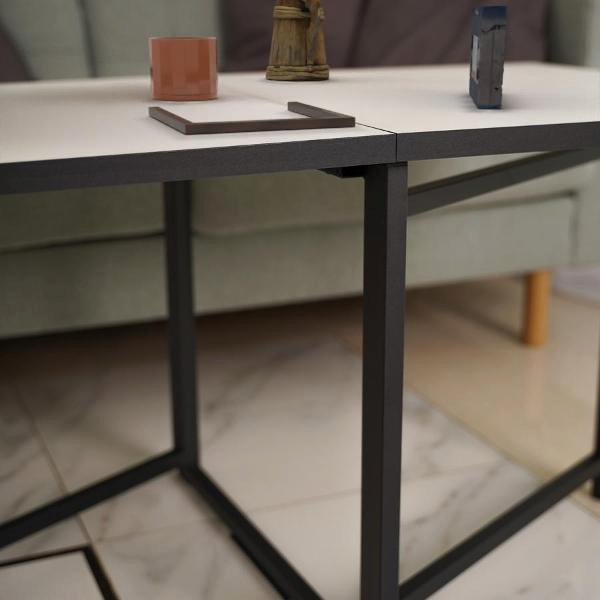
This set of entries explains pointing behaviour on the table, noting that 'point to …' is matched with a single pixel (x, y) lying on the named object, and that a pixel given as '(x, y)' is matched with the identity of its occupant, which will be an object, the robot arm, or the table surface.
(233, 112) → the table surface
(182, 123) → the frame
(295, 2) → the wooden mug
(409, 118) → the table surface
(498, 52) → the vhs cassette tape
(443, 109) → the table surface
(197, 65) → the cup
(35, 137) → the table surface
